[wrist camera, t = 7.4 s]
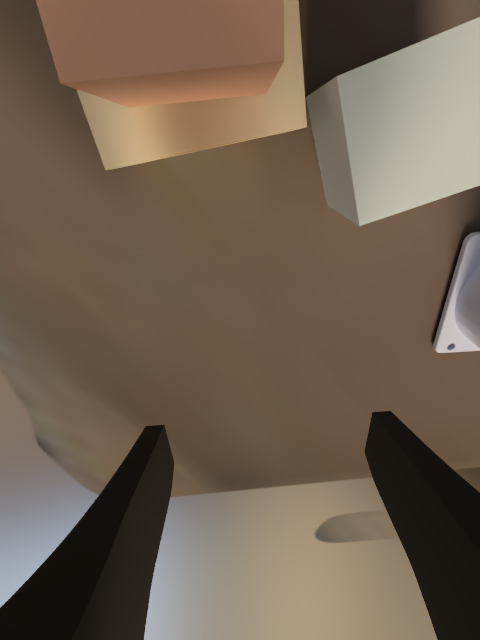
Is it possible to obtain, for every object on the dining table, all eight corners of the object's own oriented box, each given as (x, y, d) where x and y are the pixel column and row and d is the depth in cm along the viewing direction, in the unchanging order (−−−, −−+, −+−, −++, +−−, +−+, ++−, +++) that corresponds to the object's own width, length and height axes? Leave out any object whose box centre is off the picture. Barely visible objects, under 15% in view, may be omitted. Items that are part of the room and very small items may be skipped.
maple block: (267, -122, 11) (282, -242, 8) (289, 131, 15) (306, 127, 12) (60, -65, 12) (-11, -152, 8) (133, 164, 16) (105, 170, 12)
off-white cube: (416, 52, 14) (503, 7, 9) (422, 171, 16) (493, 180, 12) (305, 97, 14) (336, 76, 10) (326, 205, 17) (359, 226, 12)
